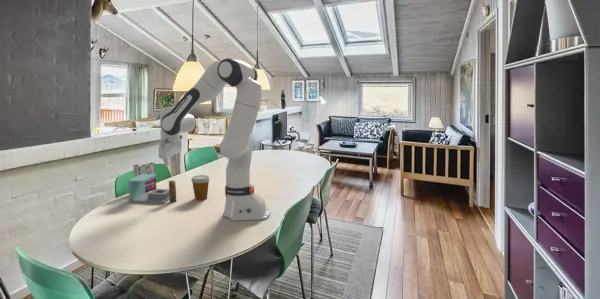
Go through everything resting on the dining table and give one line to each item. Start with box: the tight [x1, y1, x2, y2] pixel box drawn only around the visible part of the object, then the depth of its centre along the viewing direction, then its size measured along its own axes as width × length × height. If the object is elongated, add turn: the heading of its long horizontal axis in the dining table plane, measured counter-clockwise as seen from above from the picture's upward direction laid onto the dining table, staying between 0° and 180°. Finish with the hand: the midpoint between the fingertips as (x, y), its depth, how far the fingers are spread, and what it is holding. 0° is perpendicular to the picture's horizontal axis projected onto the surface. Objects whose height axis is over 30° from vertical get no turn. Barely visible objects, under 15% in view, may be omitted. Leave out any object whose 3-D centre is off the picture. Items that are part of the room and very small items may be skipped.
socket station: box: [127, 173, 170, 205], centre depth 171 cm, size 18×14×12 cm
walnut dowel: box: [168, 180, 177, 203], centre depth 168 cm, size 3×3×11 cm
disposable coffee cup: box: [191, 174, 211, 201], centre depth 174 cm, size 10×10×12 cm
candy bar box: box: [133, 161, 157, 193], centre depth 185 cm, size 11×5×16 cm, turn 159°
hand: (170, 163), depth 166 cm, fingers open, 8 cm apart
